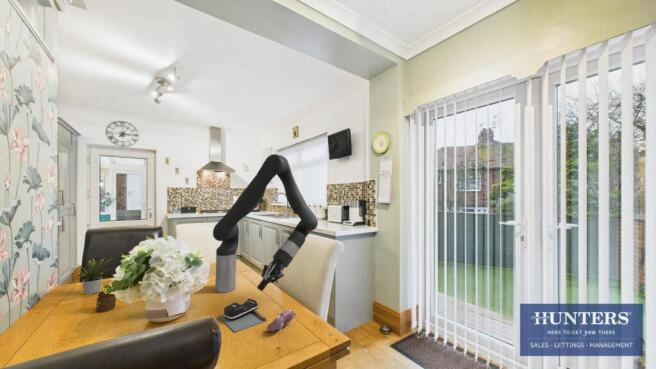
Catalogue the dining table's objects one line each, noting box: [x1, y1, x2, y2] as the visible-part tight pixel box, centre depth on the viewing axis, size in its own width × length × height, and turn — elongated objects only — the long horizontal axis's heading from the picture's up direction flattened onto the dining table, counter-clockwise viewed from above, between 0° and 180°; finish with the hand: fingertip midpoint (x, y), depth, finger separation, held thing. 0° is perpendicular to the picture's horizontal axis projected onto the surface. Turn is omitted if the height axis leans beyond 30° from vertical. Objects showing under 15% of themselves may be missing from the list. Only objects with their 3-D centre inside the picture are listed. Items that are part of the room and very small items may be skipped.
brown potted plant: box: [95, 279, 117, 313], centre depth 102 cm, size 6×6×12 cm
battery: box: [223, 298, 259, 320], centre depth 98 cm, size 7×4×11 cm
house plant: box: [75, 258, 112, 295], centre depth 120 cm, size 14×14×16 cm
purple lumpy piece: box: [266, 309, 297, 333], centre depth 89 cm, size 10×5×7 cm, turn 149°
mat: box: [219, 312, 264, 333], centre depth 94 cm, size 14×11×1 cm
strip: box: [252, 309, 267, 323], centre depth 98 cm, size 14×1×1 cm, turn 43°
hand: (259, 289), depth 99 cm, fingers closed
